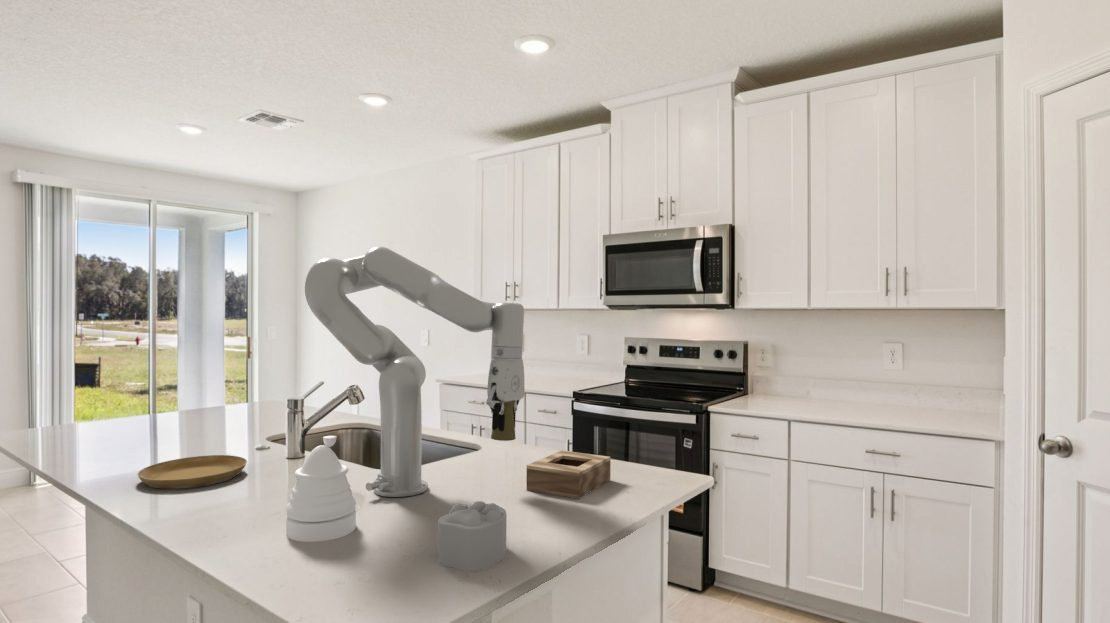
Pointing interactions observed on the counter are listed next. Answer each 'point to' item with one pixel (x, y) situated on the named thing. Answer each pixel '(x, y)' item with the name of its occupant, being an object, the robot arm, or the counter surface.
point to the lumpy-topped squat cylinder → (472, 536)
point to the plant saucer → (192, 471)
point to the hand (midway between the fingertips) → (503, 428)
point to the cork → (506, 424)
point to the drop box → (568, 474)
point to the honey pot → (321, 498)
